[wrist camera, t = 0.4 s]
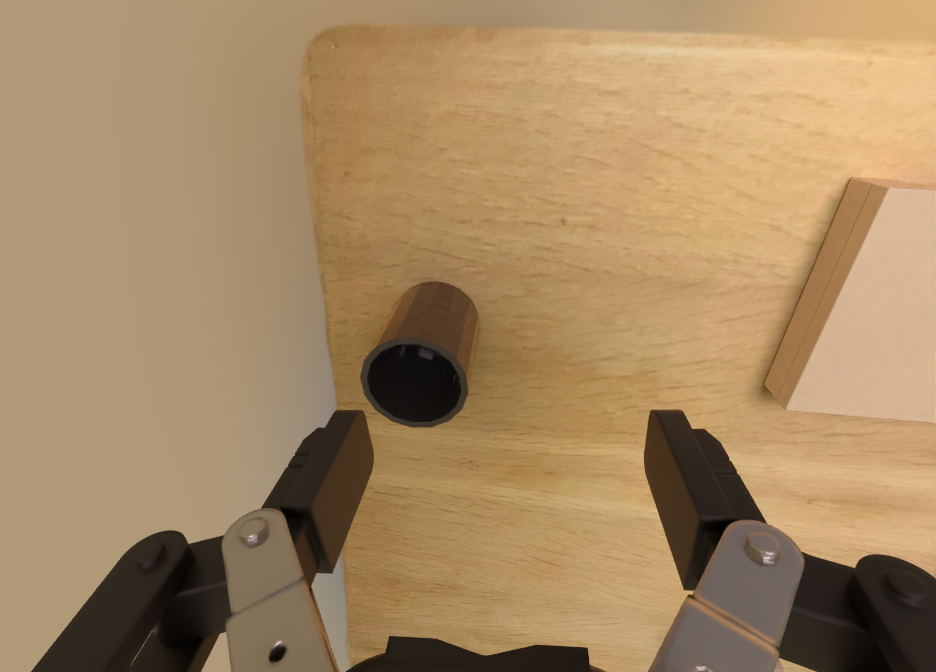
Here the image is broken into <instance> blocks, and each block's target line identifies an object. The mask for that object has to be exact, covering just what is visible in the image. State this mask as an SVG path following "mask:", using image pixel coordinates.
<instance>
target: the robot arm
mask: <svg viewBox="0 0 936 672" xmlns="http://www.w3.org/2000/svg"><path fill="white" fill-rule="evenodd" d="M373 462H374V453H373V447H372V443H371V439H370V434H369V430H368V426H367V421H366V417H365V414H364V412H363V411H362V410H337V411H335V412H334V413H333V415H332V417H331V418H330V421H329V422H328V424H327V425H326V427H325V428H317V429H316V430H315V431H314V432H312V433H311V434H310V435H309V436H308V437H306V438H305V439H304V440H303V441H302V443H301V445H300V446H299V448H298V450H297V451H296V453H295V456H293V458H292V459H291V461H290V463H289V464H288V467H287V468H286V469H285V471H284V472H283V474H282V475H281V477H280V479H279V480H278V482H277V483H276V485H275V487H274V488H273V490H272V492H271V493H270V495H269V496H268V498H267V500H266V501H265V503H264V505H263V506H262V508H261V509H259V510H255V511H252V512H250V513H248V514H246V515H244V516H242V517H241V518H239V519H238V520H237V521H236V522H234V523H233V524H232V525H231V526H230V528H229V529H228V530H227V532H226V533H225V535H223V536H219V537H215V538H211V539H207V540H203V541H200V542H195V543H191V544H188V542H187V540H186V538H185V537H184V535H183V534H182V533H180V532H178V531H172V530H169V531H162V532H158V533H155V534H153V535H151V536H148V537H146V538H145V539H143V540H141V541H139V542H138V543H136V544H135V545H134V546H133V547H131V548H130V549H129V550H128V551H127V552H126V553H125V554H124V555H123V556H122V557H121V559H120V560H119V561H118V562H117V564H116V565H115V566H114V568H113V569H112V570H111V571H110V573H109V574H108V575H107V576H106V578H105V579H104V580H103V581H102V583H101V584H100V585H99V586H98V588H97V589H96V590H95V592H94V593H93V594H92V596H91V597H90V598H89V599H88V601H87V602H86V603H85V604H84V605H83V607H82V608H81V609H80V610H79V612H78V613H77V614H76V616H75V617H74V618H73V619H72V621H71V622H70V623H69V624H68V626H67V627H66V628H65V630H64V631H63V632H62V633H61V635H60V636H59V637H58V638H57V640H56V641H55V642H54V644H53V645H52V646H51V647H50V648H49V650H48V651H47V652H46V654H45V655H44V656H43V657H42V659H41V660H40V661H39V662H38V664H37V665H36V666H35V667H34V669H33V670H32V671H31V672H201V671H202V668H203V666H204V664H205V662H206V660H207V658H208V656H209V654H210V652H211V650H212V648H213V646H214V644H215V642H216V640H217V638H218V636H219V634H220V633H223V632H226V633H227V641H228V649H229V657H230V664H231V672H340V671H339V668H338V666H337V663H336V660H335V657H334V654H333V651H332V648H331V645H330V642H329V639H328V636H327V633H326V630H325V627H324V624H323V621H322V618H321V614H320V611H319V608H318V605H317V602H316V599H315V596H314V593H313V590H312V587H311V585H312V582H313V580H314V578H315V575H316V573H333V570H334V568H335V565H336V563H337V560H338V558H339V555H340V552H341V550H342V547H343V545H344V542H345V540H346V537H347V534H348V532H349V529H350V527H351V524H352V521H353V519H354V516H355V514H356V511H357V509H358V506H359V503H360V501H361V498H362V496H363V493H364V491H365V488H366V485H367V483H368V480H369V478H370V475H371V472H372V469H373ZM644 466H645V473H646V477H647V480H648V483H649V486H650V489H651V492H652V495H653V498H654V501H655V504H656V507H657V510H658V513H659V516H660V519H661V522H662V525H663V528H664V531H665V534H666V537H667V540H668V543H669V546H670V549H671V552H672V555H673V558H674V561H675V564H676V567H677V570H678V573H679V576H680V579H681V583H682V586H683V589H684V590H692V591H694V593H693V594H692V595H690V594H689V595H688V596H687V597H686V599H685V601H684V602H683V604H682V606H681V608H680V610H679V612H678V614H677V616H676V618H675V620H674V622H673V624H672V626H671V628H670V630H669V632H668V633H667V635H666V637H665V639H664V641H663V643H662V645H661V647H660V649H659V651H658V653H657V655H656V657H655V659H654V661H653V663H652V665H651V667H650V669H649V671H648V672H774V671H775V667H776V664H777V661H778V657H779V658H781V659H784V660H787V661H790V662H792V663H795V664H798V665H800V666H803V667H806V668H809V669H811V670H814V671H817V672H936V579H935V578H934V577H933V576H931V575H930V574H929V573H927V572H926V571H924V570H923V569H921V568H919V567H917V566H915V565H913V564H911V563H909V562H907V561H905V560H902V559H899V558H896V557H892V556H887V555H868V556H865V557H863V558H862V559H860V560H859V562H858V563H857V565H856V567H855V568H853V567H849V566H846V565H842V564H838V563H835V562H831V561H828V560H824V559H821V558H817V557H814V556H811V555H808V554H806V553H804V552H801V551H800V549H799V547H798V546H797V545H796V543H795V542H794V541H793V540H792V539H791V538H790V537H788V536H787V535H786V534H785V533H783V532H782V531H780V530H779V529H777V528H775V527H773V526H771V525H768V524H767V523H766V521H765V519H764V517H763V516H762V514H761V512H760V510H759V509H758V507H757V505H756V503H755V502H754V500H753V498H752V497H751V495H750V493H749V491H748V490H747V488H746V486H745V484H744V483H743V481H742V479H741V477H740V476H739V474H737V470H736V469H735V467H734V465H733V463H732V462H731V461H730V460H729V457H728V455H727V453H726V451H725V450H724V448H723V446H722V444H721V443H720V442H719V441H718V440H717V439H716V438H714V437H713V436H712V435H711V434H710V433H708V432H707V431H706V430H705V429H692V428H691V426H690V424H689V422H688V420H687V418H686V416H685V414H684V412H683V411H682V410H651V411H650V414H649V420H648V428H647V436H646V443H645V451H644ZM151 631H152V633H151ZM150 633H151V634H150ZM149 634H150V636H149ZM148 636H149V638H148ZM147 638H148V639H147ZM146 639H147V641H146ZM145 641H146V642H145ZM144 643H145V644H144ZM143 644H144V646H143ZM142 646H143V648H142V649H141V647H142ZM140 649H141V651H140ZM139 651H140V652H139ZM138 652H139V654H138ZM137 654H138V655H137ZM136 655H137V657H136ZM135 657H136V659H135ZM134 659H135V660H134ZM133 660H134V662H133ZM132 662H133V663H132ZM131 664H132V665H131ZM346 672H606V671H604V670H602V669H599V668H597V667H594V666H591V665H590V664H589V655H588V648H584V647H567V646H550V645H533V646H529V647H524V648H520V649H516V650H511V651H507V652H502V653H498V654H493V655H488V656H485V655H480V654H477V653H474V652H471V651H469V650H466V649H463V648H460V647H458V646H455V645H452V644H449V643H447V642H444V641H441V640H438V639H432V638H415V637H398V636H389V640H388V644H387V648H386V652H385V653H383V654H379V655H376V656H374V657H371V658H368V659H366V660H364V661H362V662H360V663H358V664H356V665H355V666H353V667H352V668H350V669H349V670H347V671H346Z"/></svg>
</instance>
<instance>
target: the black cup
mask: <svg viewBox="0 0 936 672" xmlns="http://www.w3.org/2000/svg"><path fill="white" fill-rule="evenodd" d="M478 332H479V318H478V313H477V310H476V308H475V305H474V304H473V302H472V301H471V299H470V298H469V297H468V296H467V295H466V294H465V293H464V292H462V291H461V290H460V289H458V288H456V287H454V286H452V285H450V284H447V283H443V282H425V283H420V284H418V285H415V286H413V287H412V288H410V289H409V290H407V291H406V292H405V293H404V294H403V295H402V297H401V298H400V300H399V301H398V302H397V303H396V305H395V307H394V309H393V310H392V312H391V314H390V316H389V318H388V319H387V321H386V323H385V325H384V326H383V328H382V330H381V332H380V333H379V335H378V337H377V339H376V340H375V342H374V344H373V346H372V347H371V349H370V351H369V353H368V355H367V356H366V358H365V360H364V363H363V367H362V372H361V376H360V378H361V382H362V387H363V391H364V394H365V396H366V398H367V399H368V400H369V402H370V403H371V404H372V406H373V407H374V409H375V410H376V411H378V412H379V413H381V414H382V415H384V416H385V417H386V418H388V419H389V420H391V421H393V422H396V423H399V424H402V425H405V426H409V427H434V426H436V425H439V424H442V423H445V422H448V421H449V420H451V419H452V418H453V417H454V416H455V415H456V414H457V413H458V412H459V411H461V410H462V408H463V406H464V403H465V401H466V398H467V396H468V392H469V386H470V380H471V374H472V368H473V362H474V356H475V350H476V344H477V338H478Z"/></svg>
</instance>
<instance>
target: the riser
mask: <svg viewBox="0 0 936 672" xmlns="http://www.w3.org/2000/svg"><path fill="white" fill-rule="evenodd" d="M764 385H765V386H766V387H767V389H768V390H769V391H770V392H771V394H772V395H773V396H774V397H775V398H776V399H777V401H778V402H779V403H780V404H781V406H782V407H783V408H784V409H785V410H789V411H800V412H812V413H824V414H835V415H847V416H858V417H870V418H882V419H893V420H905V421H917V422H928V423H936V187H931V186H912V185H909V184H905V183H901V182H897V181H893V180H889V179H873V178H851V180H850V182H849V184H848V187H847V189H846V191H845V194H844V196H843V199H842V201H841V203H840V206H839V208H838V210H837V213H836V215H835V217H834V220H833V222H832V225H831V227H830V229H829V232H828V234H827V236H826V239H825V241H824V243H823V246H822V248H821V250H820V253H819V255H818V258H817V260H816V262H815V265H814V267H813V269H812V272H811V274H810V276H809V279H808V281H807V284H806V286H805V288H804V291H803V293H802V295H801V298H800V300H799V302H798V305H797V307H796V310H795V312H794V314H793V317H792V319H791V321H790V324H789V326H788V328H787V331H786V333H785V336H784V338H783V340H782V343H781V345H780V347H779V350H778V352H777V354H776V357H775V359H774V362H773V364H772V366H771V369H770V371H769V373H768V376H767V378H766V380H765V383H764Z"/></svg>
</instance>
